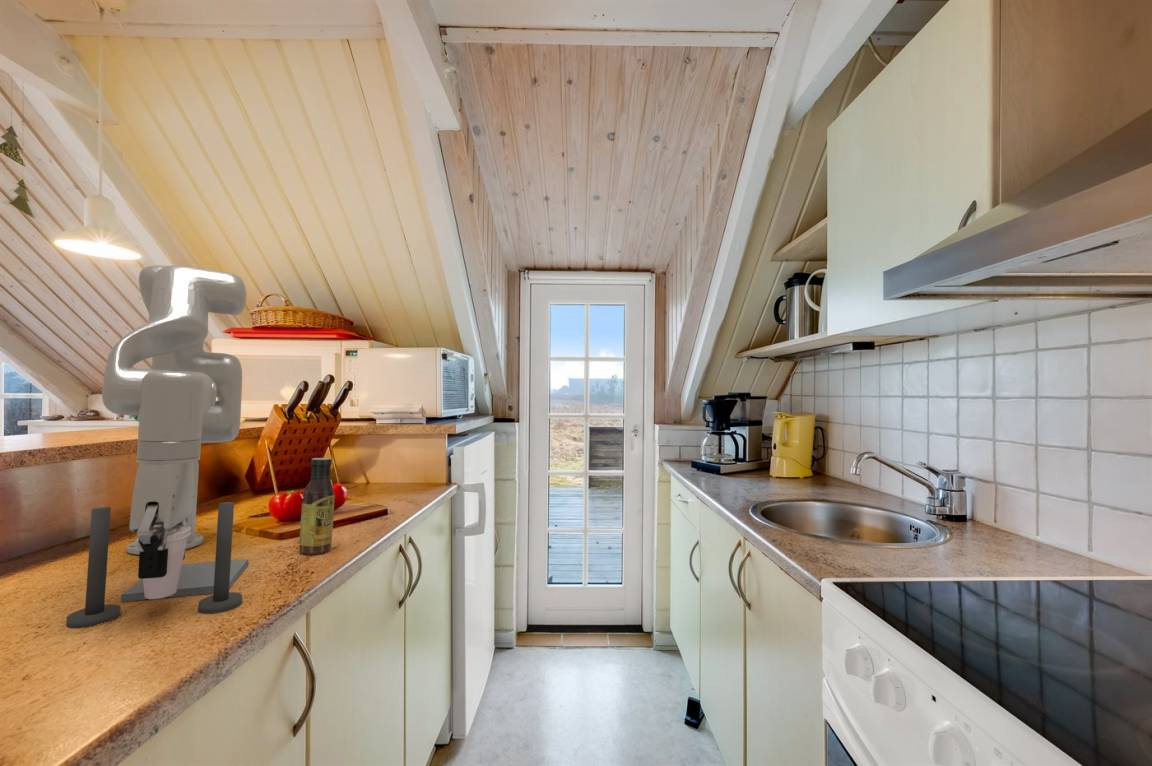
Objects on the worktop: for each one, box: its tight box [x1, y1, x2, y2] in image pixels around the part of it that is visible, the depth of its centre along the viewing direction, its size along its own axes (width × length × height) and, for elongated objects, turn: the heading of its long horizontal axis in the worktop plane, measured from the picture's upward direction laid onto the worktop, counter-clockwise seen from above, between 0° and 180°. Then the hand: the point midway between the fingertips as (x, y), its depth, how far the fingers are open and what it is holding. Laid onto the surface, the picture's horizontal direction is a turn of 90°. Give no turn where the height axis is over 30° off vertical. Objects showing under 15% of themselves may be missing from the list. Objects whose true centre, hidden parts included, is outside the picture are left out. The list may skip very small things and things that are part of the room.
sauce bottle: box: [298, 457, 336, 555], centre depth 105 cm, size 6×6×20 cm
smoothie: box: [135, 525, 191, 600], centre depth 74 cm, size 6×6×14 cm
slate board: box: [120, 558, 250, 603], centre depth 86 cm, size 14×14×1 cm
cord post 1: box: [65, 506, 122, 629], centre depth 71 cm, size 6×6×16 cm
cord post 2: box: [197, 501, 243, 614], centre depth 77 cm, size 6×6×16 cm
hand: (162, 567), depth 74 cm, fingers closed on smoothie, 6 cm apart
